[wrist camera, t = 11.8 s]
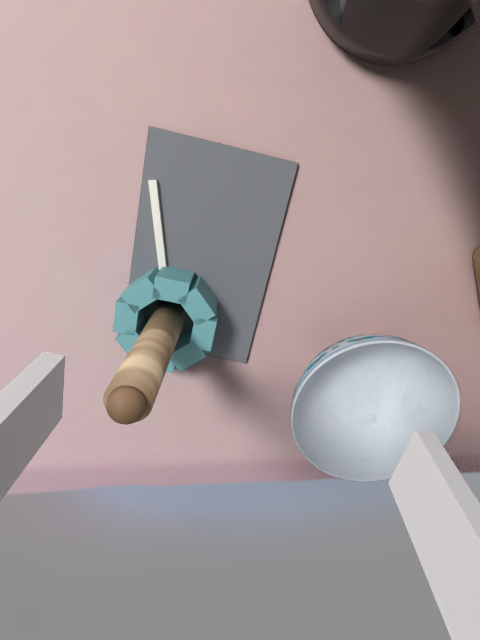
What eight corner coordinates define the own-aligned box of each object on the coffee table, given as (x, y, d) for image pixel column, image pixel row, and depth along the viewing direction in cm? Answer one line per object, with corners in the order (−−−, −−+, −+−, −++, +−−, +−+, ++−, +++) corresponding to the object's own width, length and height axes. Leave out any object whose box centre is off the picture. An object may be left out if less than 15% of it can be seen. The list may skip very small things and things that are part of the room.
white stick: (149, 180, 34) (148, 180, 34) (157, 179, 34) (156, 179, 34) (159, 268, 37) (158, 270, 37) (167, 268, 37) (166, 269, 37)
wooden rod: (159, 294, 38) (97, 388, 22) (189, 300, 38) (150, 399, 22) (155, 321, 39) (93, 431, 23) (184, 327, 39) (143, 441, 23)
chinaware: (290, 439, 45) (300, 491, 38) (273, 320, 39) (281, 355, 32) (421, 421, 44) (457, 471, 37) (423, 298, 39) (465, 328, 31)
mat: (149, 126, 33) (148, 125, 32) (297, 162, 34) (298, 163, 34) (123, 336, 40) (122, 338, 40) (245, 361, 41) (245, 362, 41)
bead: (132, 258, 37) (120, 268, 33) (225, 278, 37) (223, 291, 34) (121, 342, 40) (109, 360, 36) (207, 359, 41) (204, 379, 37)
